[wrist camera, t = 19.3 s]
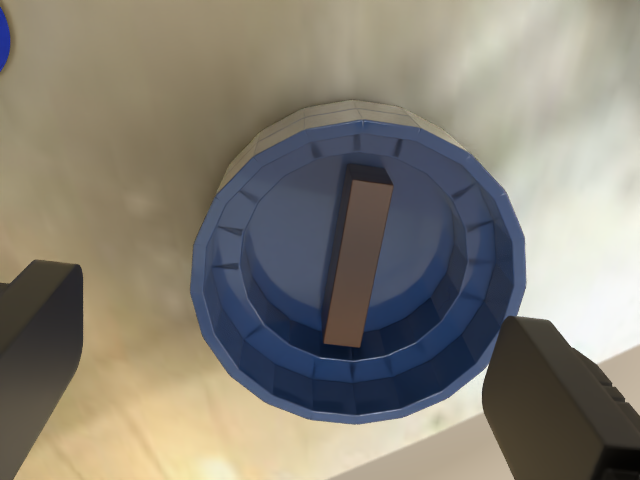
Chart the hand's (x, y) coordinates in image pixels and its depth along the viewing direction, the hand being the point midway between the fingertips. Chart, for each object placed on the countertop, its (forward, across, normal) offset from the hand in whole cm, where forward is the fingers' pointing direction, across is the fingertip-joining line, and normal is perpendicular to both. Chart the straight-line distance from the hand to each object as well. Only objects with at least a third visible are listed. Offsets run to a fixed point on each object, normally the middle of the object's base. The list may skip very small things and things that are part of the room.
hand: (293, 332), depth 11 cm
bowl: (+20, -4, +6) cm, 21 cm away
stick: (+19, -4, +6) cm, 20 cm away
